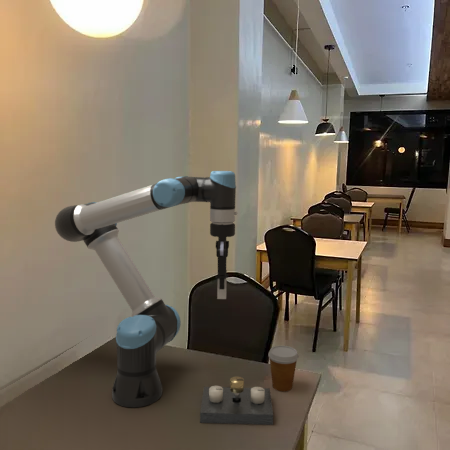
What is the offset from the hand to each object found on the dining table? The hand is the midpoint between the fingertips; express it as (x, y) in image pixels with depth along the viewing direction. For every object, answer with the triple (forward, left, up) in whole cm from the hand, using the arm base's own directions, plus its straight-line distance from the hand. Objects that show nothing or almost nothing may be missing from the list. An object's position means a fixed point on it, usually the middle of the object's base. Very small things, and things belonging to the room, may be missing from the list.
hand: (221, 298), depth 137 cm
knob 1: (+3, -12, -29) cm, 32 cm away
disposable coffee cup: (+18, +8, -30) cm, 36 cm away
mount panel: (+9, -10, -29) cm, 32 cm away
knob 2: (+15, -8, -29) cm, 34 cm away
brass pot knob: (+9, -10, -26) cm, 29 cm away
